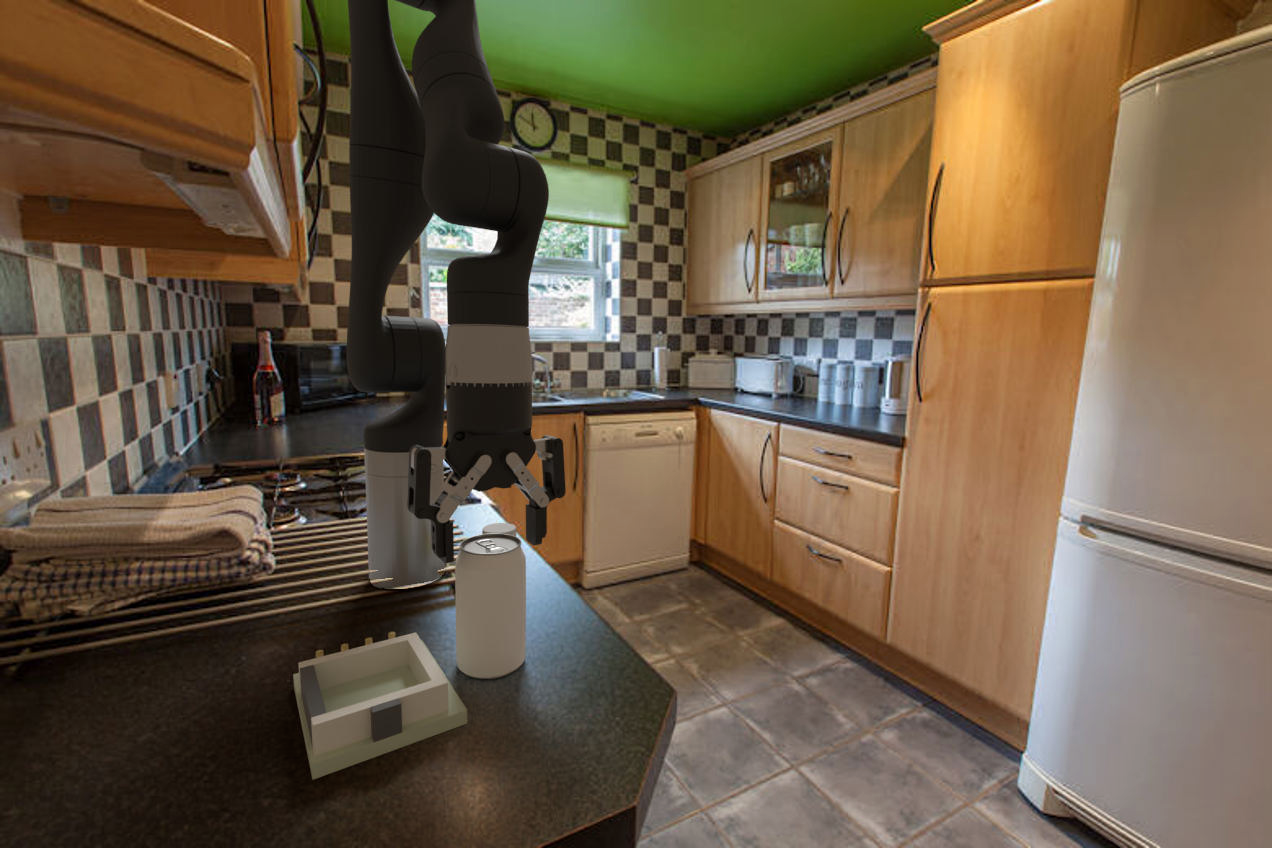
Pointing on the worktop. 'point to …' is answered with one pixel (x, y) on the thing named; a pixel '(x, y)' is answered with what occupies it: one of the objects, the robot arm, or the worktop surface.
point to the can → (490, 605)
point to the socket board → (372, 701)
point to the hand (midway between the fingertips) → (491, 551)
